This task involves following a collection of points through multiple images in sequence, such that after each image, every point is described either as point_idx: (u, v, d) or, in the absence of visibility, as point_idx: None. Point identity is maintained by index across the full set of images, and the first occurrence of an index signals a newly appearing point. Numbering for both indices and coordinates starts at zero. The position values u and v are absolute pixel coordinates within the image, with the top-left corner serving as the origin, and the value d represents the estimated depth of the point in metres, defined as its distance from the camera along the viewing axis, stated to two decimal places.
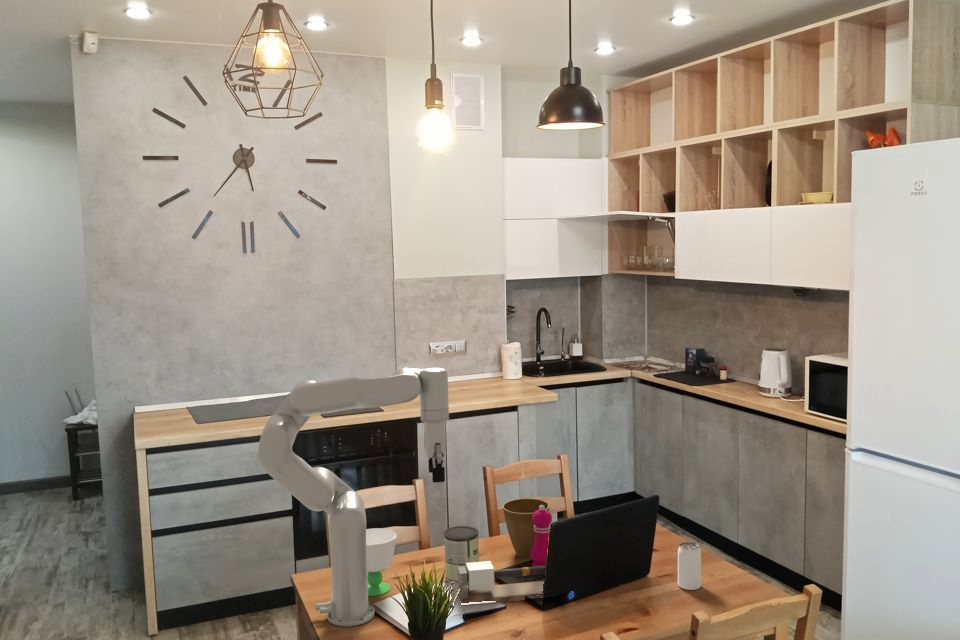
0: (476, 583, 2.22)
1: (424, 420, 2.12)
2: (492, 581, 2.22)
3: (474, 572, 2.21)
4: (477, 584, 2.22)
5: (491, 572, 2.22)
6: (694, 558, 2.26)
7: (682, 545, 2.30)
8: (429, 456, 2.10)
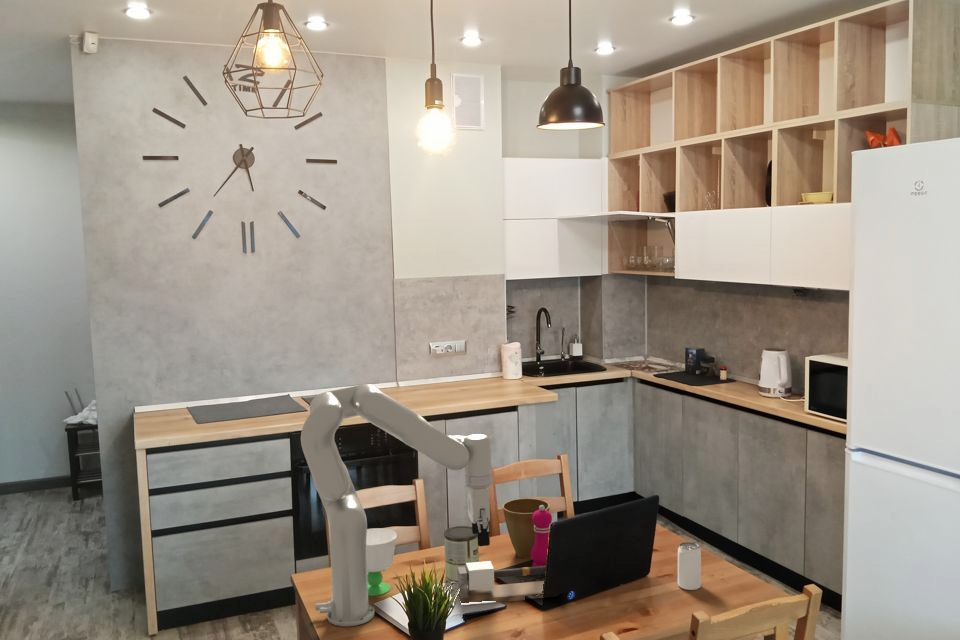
0: (476, 583, 2.22)
1: (469, 486, 2.20)
2: (492, 581, 2.22)
3: (474, 572, 2.21)
4: (477, 584, 2.22)
5: (491, 572, 2.22)
6: (694, 558, 2.26)
7: (682, 545, 2.30)
8: (474, 521, 2.18)
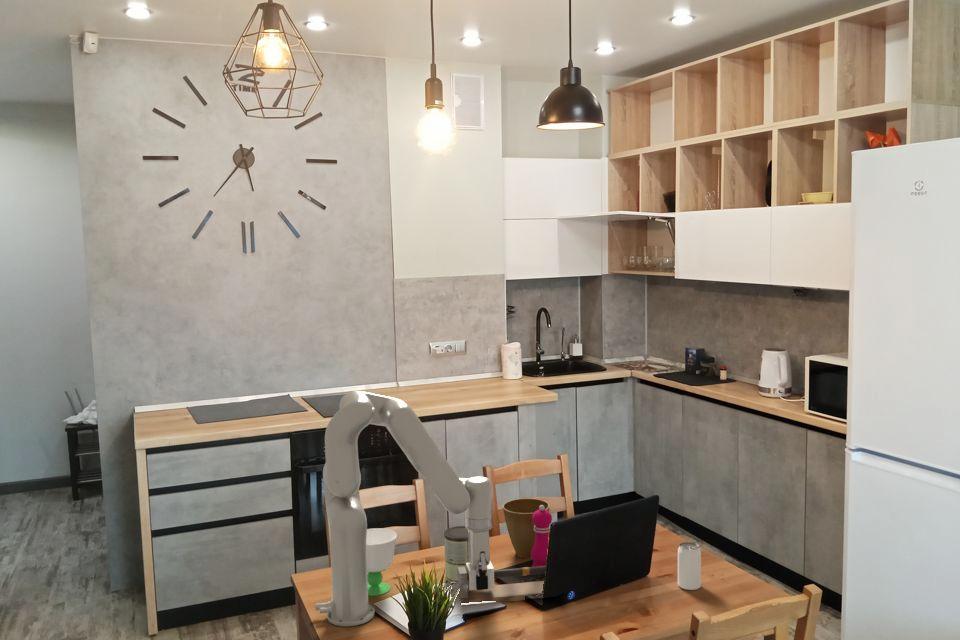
0: None
1: (469, 528, 2.21)
2: (492, 581, 2.22)
3: (474, 572, 2.21)
4: None
5: (491, 572, 2.22)
6: (694, 558, 2.26)
7: (682, 545, 2.30)
8: (474, 564, 2.19)
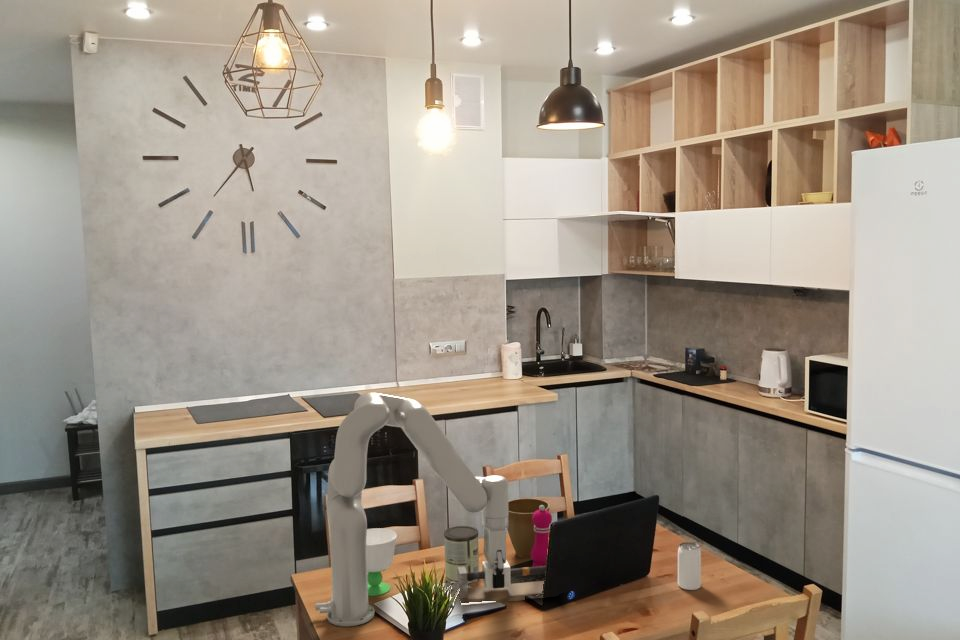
0: (492, 582, 2.22)
1: (486, 527, 2.21)
2: (508, 580, 2.23)
3: (491, 571, 2.22)
4: None
5: (507, 571, 2.23)
6: (694, 558, 2.26)
7: (682, 545, 2.30)
8: (491, 562, 2.20)
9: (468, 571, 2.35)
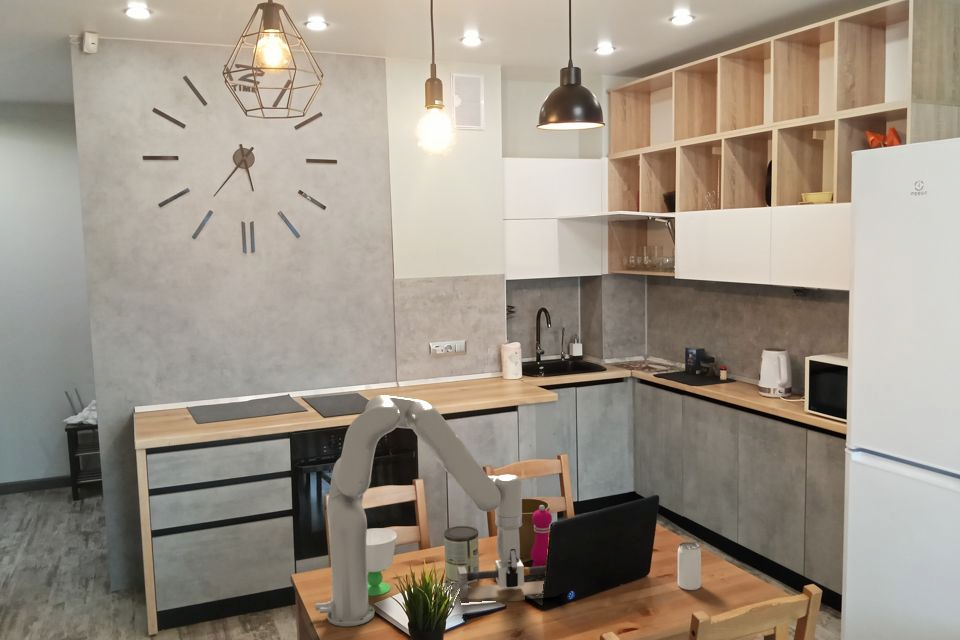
0: None
1: (499, 526, 2.22)
2: (522, 578, 2.24)
3: (504, 570, 2.23)
4: None
5: (521, 569, 2.24)
6: (694, 558, 2.26)
7: (682, 545, 2.30)
8: (504, 561, 2.20)
9: (468, 571, 2.35)
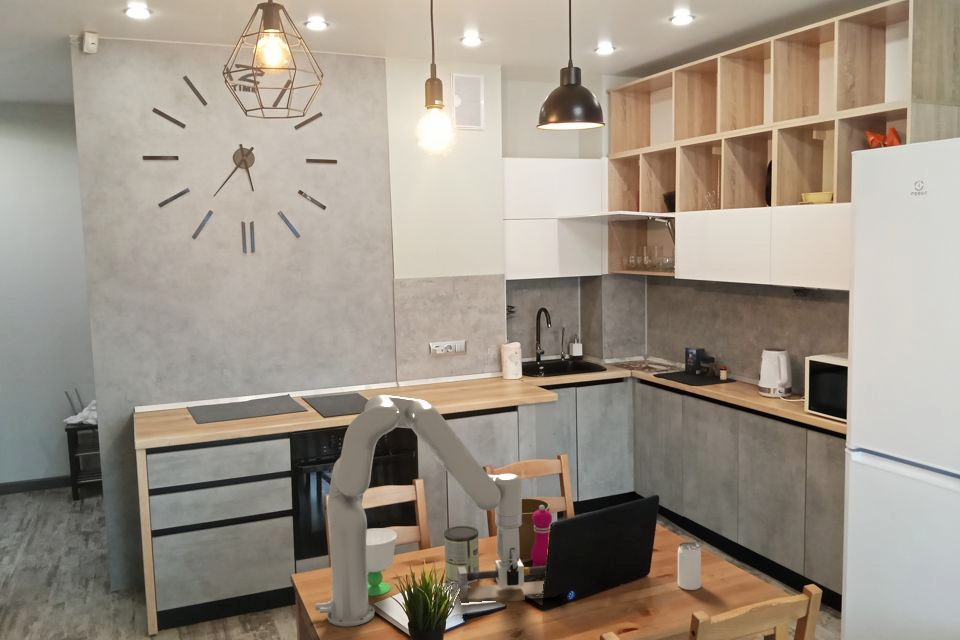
0: (506, 580, 2.23)
1: (499, 525, 2.22)
2: (522, 578, 2.24)
3: (504, 570, 2.23)
4: None
5: (521, 569, 2.24)
6: (694, 558, 2.26)
7: (682, 545, 2.30)
8: (504, 560, 2.20)
9: (468, 571, 2.35)
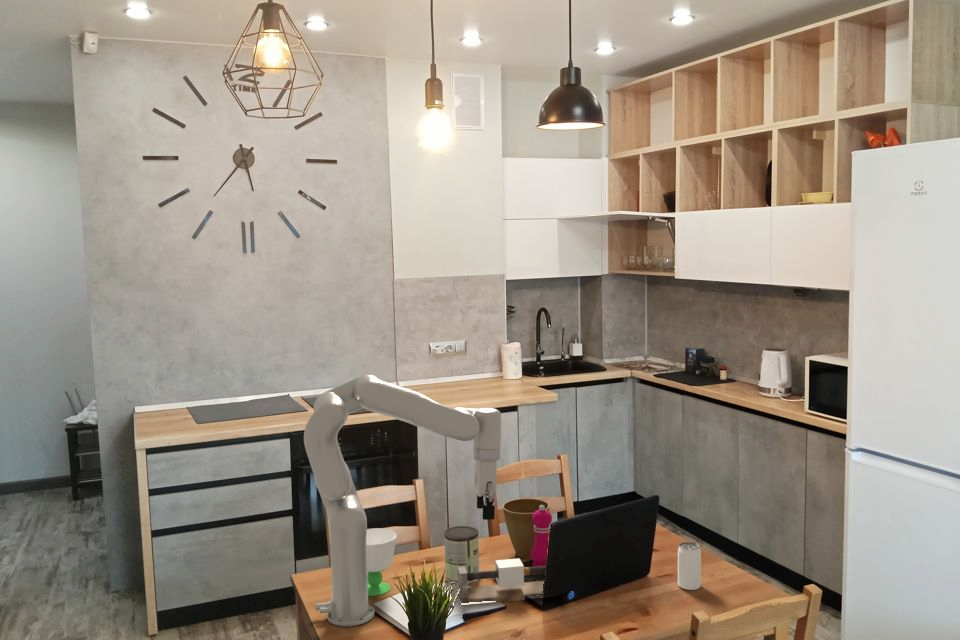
0: (506, 580, 2.23)
1: (477, 458, 2.19)
2: (522, 578, 2.24)
3: (504, 570, 2.23)
4: (507, 581, 2.23)
5: (521, 569, 2.24)
6: (694, 558, 2.26)
7: (682, 545, 2.30)
8: (480, 494, 2.18)
9: (468, 571, 2.35)
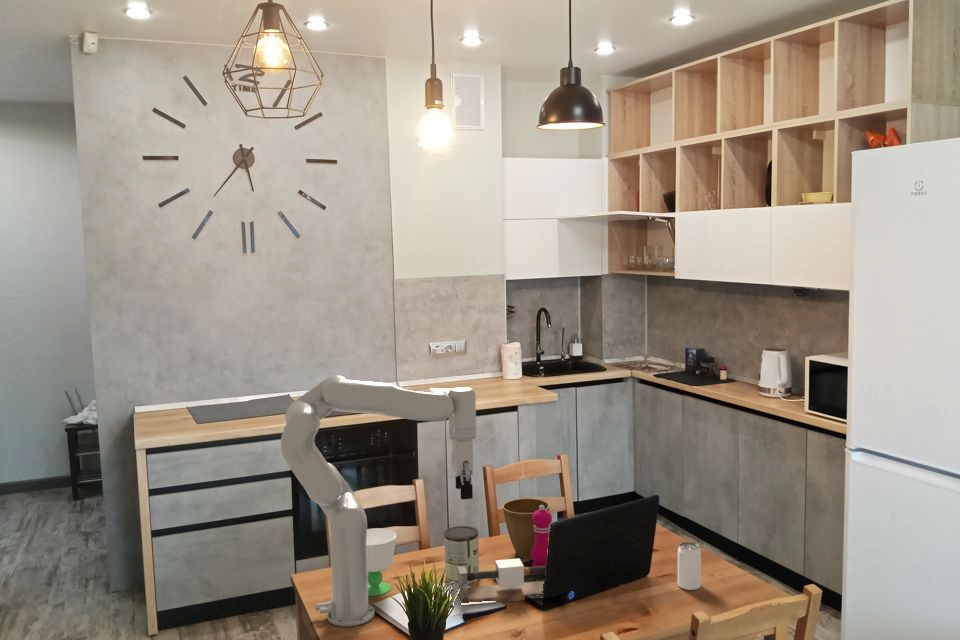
0: (506, 580, 2.23)
1: (452, 438, 2.18)
2: (522, 578, 2.24)
3: (504, 570, 2.23)
4: (507, 581, 2.23)
5: (521, 569, 2.24)
6: (694, 558, 2.26)
7: (682, 545, 2.30)
8: (457, 474, 2.16)
9: (468, 571, 2.35)
